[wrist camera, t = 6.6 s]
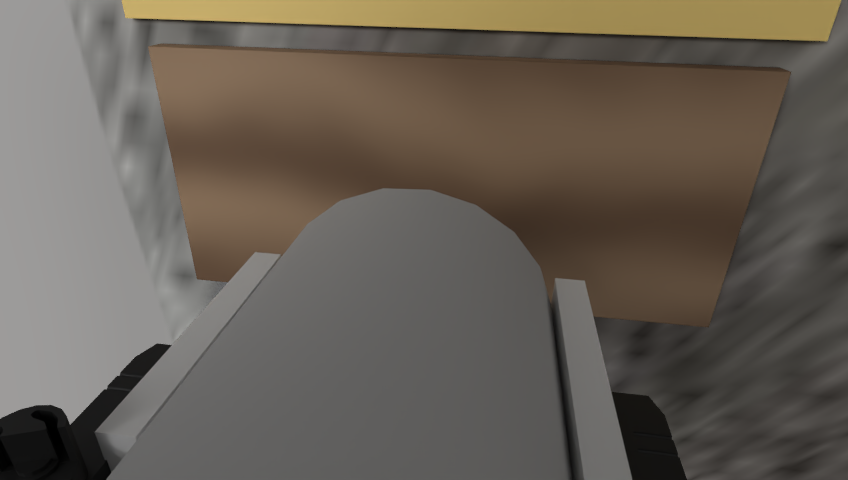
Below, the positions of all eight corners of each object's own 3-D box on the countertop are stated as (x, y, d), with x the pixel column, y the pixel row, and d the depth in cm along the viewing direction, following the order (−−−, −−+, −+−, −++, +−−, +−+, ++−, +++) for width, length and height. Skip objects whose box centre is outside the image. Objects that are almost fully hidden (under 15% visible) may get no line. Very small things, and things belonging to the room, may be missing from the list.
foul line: (122, -19, 19) (117, -19, 19) (836, -1, 17) (841, -1, 16) (130, 17, 20) (125, 18, 20) (822, 39, 17) (827, 41, 17)
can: (581, 203, 13) (842, 1060, 3) (517, 416, 17) (531, 1161, 6) (293, 151, 14) (-380, 730, 3) (289, 370, 17) (-48, 989, 7)
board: (160, 43, 20) (148, 46, 20) (780, 67, 18) (791, 71, 17) (206, 270, 25) (197, 279, 24) (702, 315, 22) (708, 327, 22)
